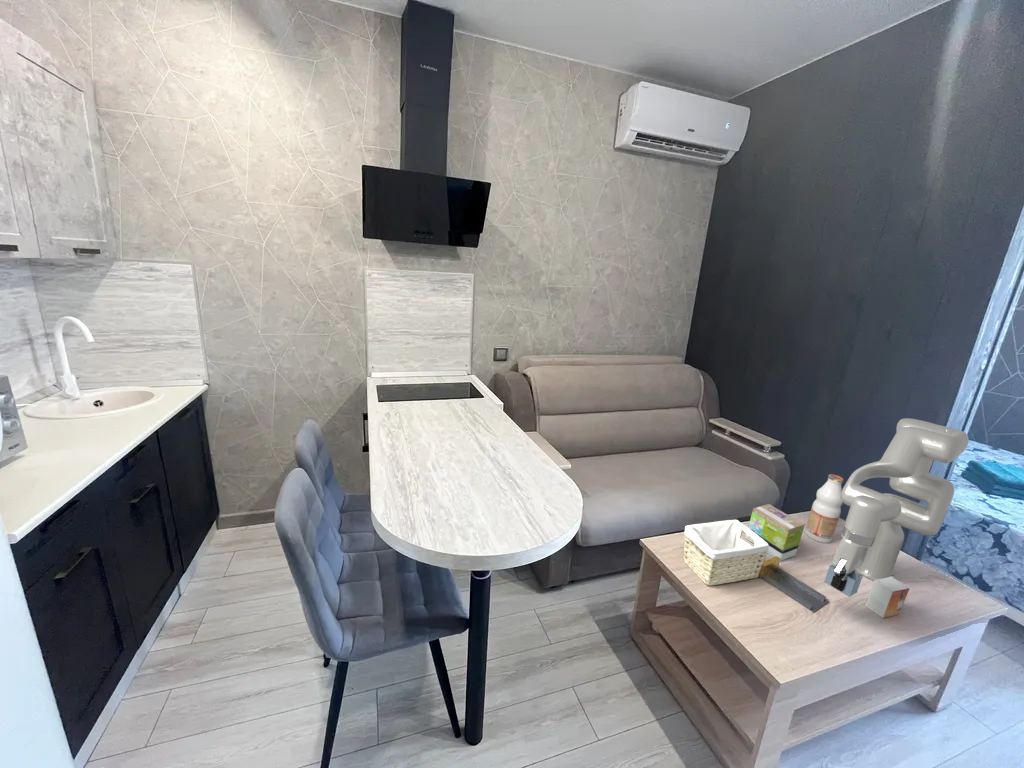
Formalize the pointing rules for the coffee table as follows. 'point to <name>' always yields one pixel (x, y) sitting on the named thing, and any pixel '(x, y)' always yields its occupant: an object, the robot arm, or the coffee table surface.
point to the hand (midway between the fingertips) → (841, 584)
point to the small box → (887, 597)
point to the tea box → (776, 530)
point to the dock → (791, 585)
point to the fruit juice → (825, 511)
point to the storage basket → (723, 552)
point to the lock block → (851, 580)
